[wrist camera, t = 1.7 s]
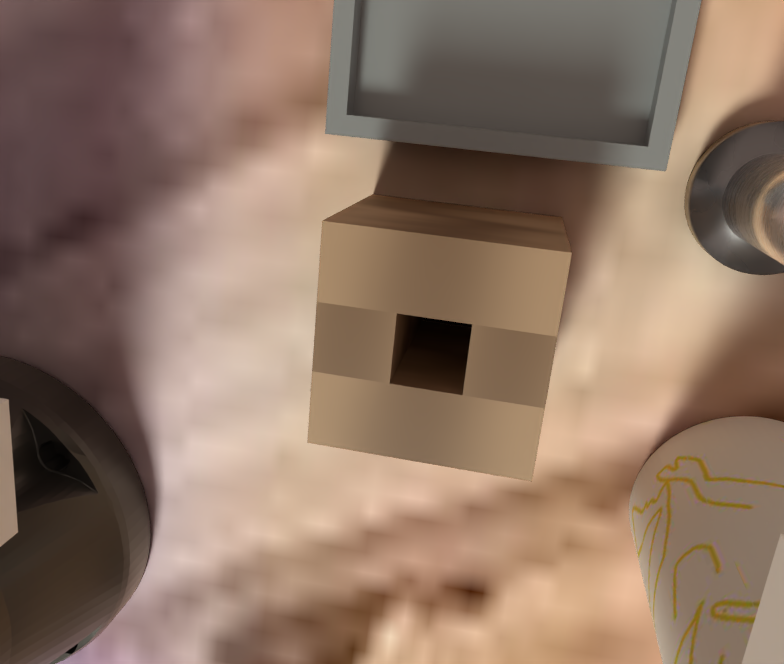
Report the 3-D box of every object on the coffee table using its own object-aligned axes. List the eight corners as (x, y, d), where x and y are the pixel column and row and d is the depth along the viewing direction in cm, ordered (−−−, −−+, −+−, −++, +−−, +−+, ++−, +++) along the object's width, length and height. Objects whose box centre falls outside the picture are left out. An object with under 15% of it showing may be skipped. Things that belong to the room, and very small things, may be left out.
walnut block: (357, 368, 29) (307, 442, 23) (373, 194, 27) (322, 220, 21) (531, 395, 28) (532, 481, 22) (562, 217, 26) (571, 252, 20)
